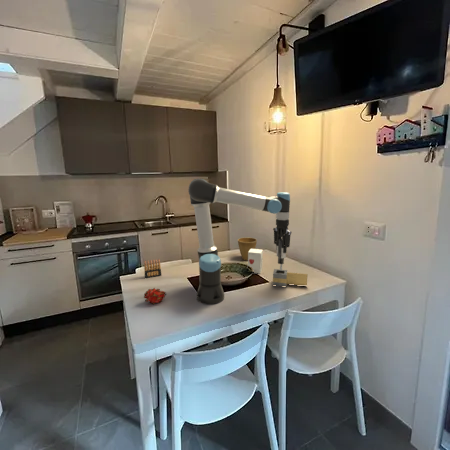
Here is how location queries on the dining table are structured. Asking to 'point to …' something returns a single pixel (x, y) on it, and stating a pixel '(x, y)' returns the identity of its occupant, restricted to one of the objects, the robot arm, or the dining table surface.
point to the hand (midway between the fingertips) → (281, 256)
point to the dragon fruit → (154, 295)
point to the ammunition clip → (152, 269)
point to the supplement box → (255, 259)
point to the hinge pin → (280, 245)
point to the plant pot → (246, 246)
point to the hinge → (288, 278)
